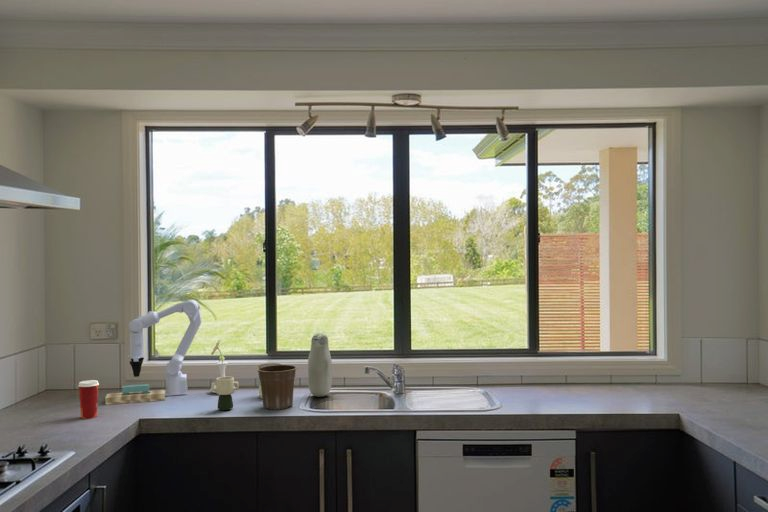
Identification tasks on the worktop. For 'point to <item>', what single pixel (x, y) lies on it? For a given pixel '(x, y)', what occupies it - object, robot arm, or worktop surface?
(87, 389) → the paper cup
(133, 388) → the staple
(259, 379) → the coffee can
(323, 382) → the white tall rounded figure
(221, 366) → the flower in vase
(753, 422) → the worktop surface
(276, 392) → the plant pot
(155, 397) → the tan segmented bar
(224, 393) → the character mug
